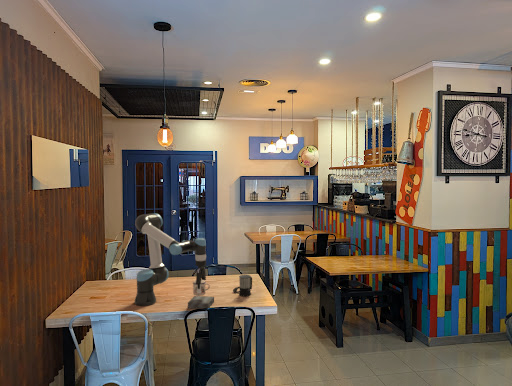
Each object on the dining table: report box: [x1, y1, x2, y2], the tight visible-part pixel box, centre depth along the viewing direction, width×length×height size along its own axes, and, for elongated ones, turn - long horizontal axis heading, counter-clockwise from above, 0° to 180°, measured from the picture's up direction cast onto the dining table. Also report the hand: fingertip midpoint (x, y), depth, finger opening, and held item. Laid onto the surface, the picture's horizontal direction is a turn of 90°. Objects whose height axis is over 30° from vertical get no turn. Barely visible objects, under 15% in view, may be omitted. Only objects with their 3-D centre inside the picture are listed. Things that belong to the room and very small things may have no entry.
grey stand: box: [187, 295, 215, 310], centre depth 268 cm, size 15×15×4 cm
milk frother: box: [232, 274, 253, 297], centre depth 294 cm, size 14×16×15 cm
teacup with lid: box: [192, 279, 211, 296], centre depth 268 cm, size 12×9×12 cm
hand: (201, 291), depth 267 cm, fingers closed on teacup with lid, 9 cm apart
